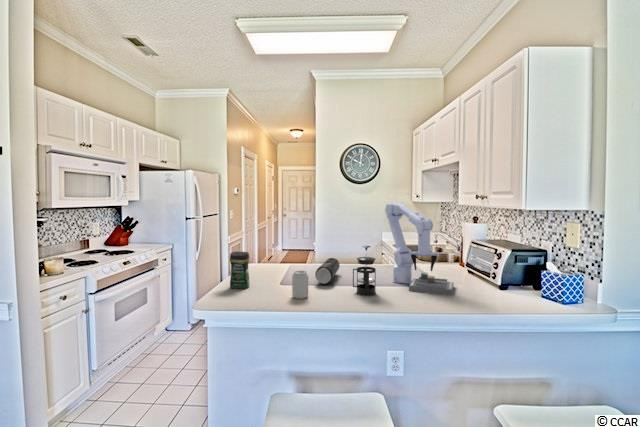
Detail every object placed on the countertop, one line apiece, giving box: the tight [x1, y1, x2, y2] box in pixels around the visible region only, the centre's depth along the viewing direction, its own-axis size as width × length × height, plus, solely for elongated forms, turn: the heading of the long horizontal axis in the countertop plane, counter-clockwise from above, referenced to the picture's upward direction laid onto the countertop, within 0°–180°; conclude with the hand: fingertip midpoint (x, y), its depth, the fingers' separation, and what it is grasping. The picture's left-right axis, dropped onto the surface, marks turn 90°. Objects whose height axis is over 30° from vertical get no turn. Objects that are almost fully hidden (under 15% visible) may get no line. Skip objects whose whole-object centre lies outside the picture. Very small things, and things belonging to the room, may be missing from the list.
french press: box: [352, 245, 377, 297], centre depth 170 cm, size 12×9×23 cm
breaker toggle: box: [428, 275, 436, 284], centre depth 175 cm, size 3×3×4 cm
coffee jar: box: [229, 251, 251, 290], centre depth 181 cm, size 10×8×19 cm
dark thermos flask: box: [315, 257, 341, 285], centre depth 196 cm, size 10×28×10 cm, turn 169°
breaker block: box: [408, 271, 455, 296], centre depth 178 cm, size 20×16×7 cm
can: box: [291, 270, 309, 300], centre depth 164 cm, size 8×8×12 cm
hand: (423, 270), depth 178 cm, fingers open, 7 cm apart
